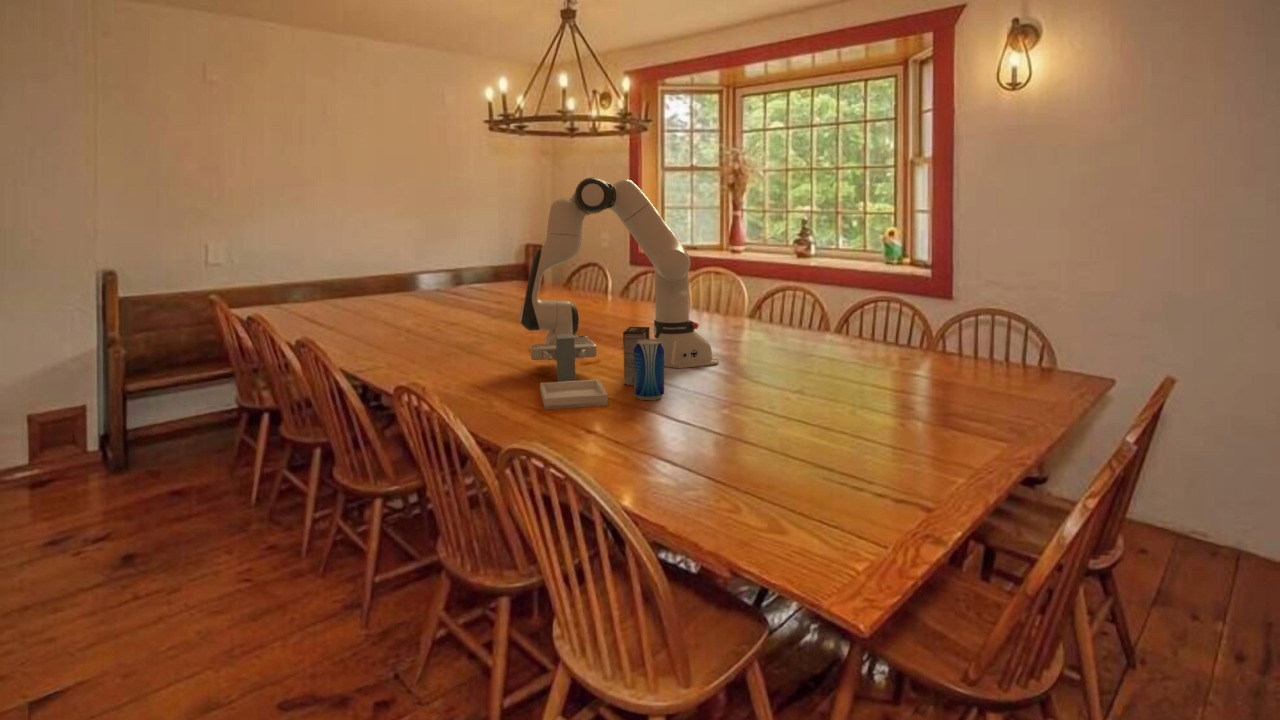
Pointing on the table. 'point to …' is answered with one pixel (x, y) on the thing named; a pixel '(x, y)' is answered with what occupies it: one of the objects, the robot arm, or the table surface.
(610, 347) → the table surface
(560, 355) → the slate block
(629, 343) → the coffee box
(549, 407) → the bin
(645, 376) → the beer can
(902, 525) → the table surface
